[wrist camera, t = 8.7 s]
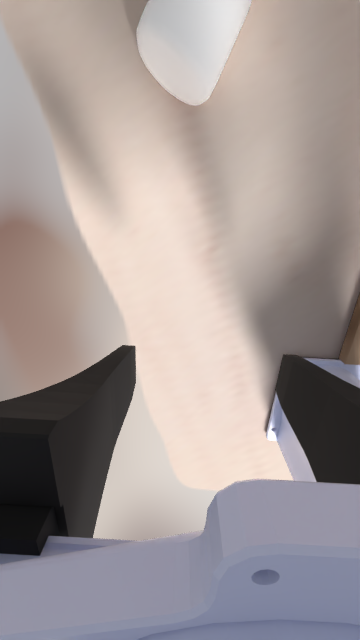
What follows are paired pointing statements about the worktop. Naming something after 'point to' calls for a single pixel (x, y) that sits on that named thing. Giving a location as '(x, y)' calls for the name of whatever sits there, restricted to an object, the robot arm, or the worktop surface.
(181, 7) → the unicorn horn
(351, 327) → the railed tan base plate
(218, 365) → the worktop surface
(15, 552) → the robot arm
